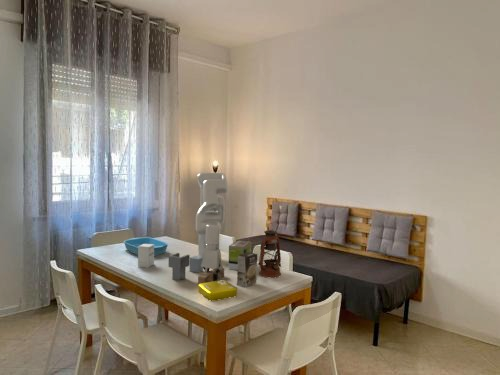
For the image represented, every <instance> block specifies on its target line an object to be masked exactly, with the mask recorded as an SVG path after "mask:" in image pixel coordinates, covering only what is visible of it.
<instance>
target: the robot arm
mask: <svg viewBox="0 0 500 375" xmlns="http://www.w3.org/2000/svg"><path fill="white" fill-rule="evenodd" d="M196 176H197V177H196V178H197V179H196V180H197V183H198V186H199V189H200V196H199V197H200V200H199V202H200V205H199V206H200V207H199V209H198V210H197V212H196V215H195V232H196V234H198V245H197V246H198V249H197V251H198V254H197V256H199V257H202V264H201V267H202V268H203V270H204V273H206V272H208V271H210V269H211V270H212V269H214V274H213V281H218V280H219V279H218V273H219V272H220V271H221V270H223V268H224V266H223V265H222V252H221V248H220V233H221V232H222V229H223V228H222V227H223V226H222V225H224V223H225V217H226V216H225V212H226V200H225V197H224V196H222V195H218V194H226V193H227V192H228V188H229V185H228V181H227V177H226V175H225V174H224V173H222V172H199V173H198V174H197V175H196ZM218 267H220V269H218ZM217 279H218V280H217Z"/></svg>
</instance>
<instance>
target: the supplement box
mask: <svg viewBox="0 0 500 375" xmlns="http://www.w3.org/2000/svg"><path fill="white" fill-rule="evenodd" d="M153 265H155V256H154V244H142V245H140V246H138V255H137V267H139V268H150V267H152V266H153Z"/></svg>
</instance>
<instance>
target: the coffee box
mask: <svg viewBox="0 0 500 375" xmlns="http://www.w3.org/2000/svg"><path fill="white" fill-rule="evenodd" d="M236 272H237V274H236V275H237V278H236V285H237V286H240V287H243V288H247V287H250V286H253V285H255V284H257V275H258V273H257V272H258V254H257V253H253V252H251V253H249V252H248V253H244V254H240V255H238V270H236Z"/></svg>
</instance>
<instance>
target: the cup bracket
mask: <svg viewBox="0 0 500 375" xmlns="http://www.w3.org/2000/svg"><path fill="white" fill-rule="evenodd" d="M180 255H181V254H180V253H179V252H176V253H173V254H170V255H169V256H168V268H172V270H171V271H172V277H171V278H172V280H174V281H182V280H184V279H186V267H190V256H191V255H190V254H185V255H183V256H180Z"/></svg>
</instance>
